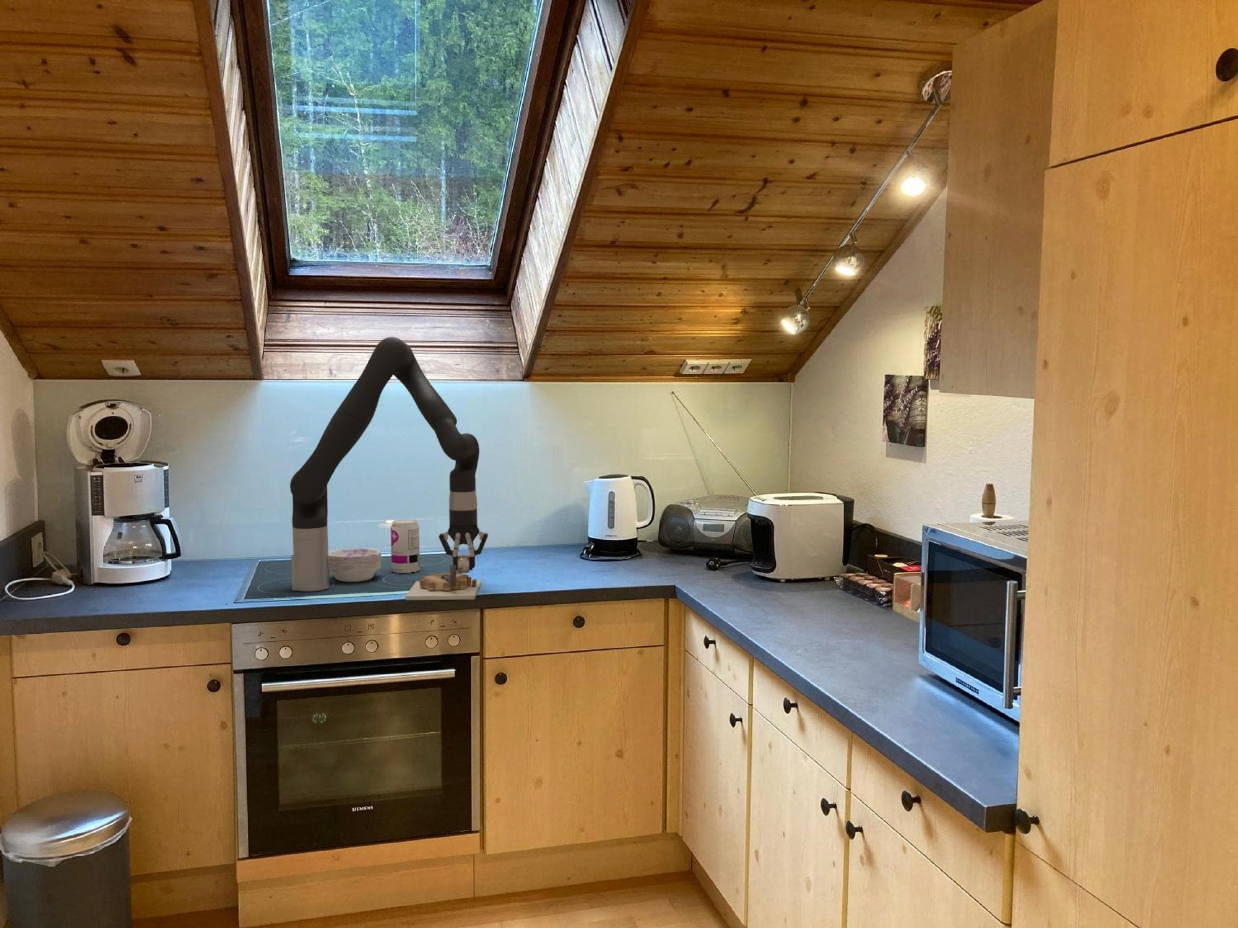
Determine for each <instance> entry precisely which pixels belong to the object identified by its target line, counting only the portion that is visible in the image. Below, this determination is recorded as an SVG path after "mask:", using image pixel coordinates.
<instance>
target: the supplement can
mask: <svg viewBox="0 0 1238 928" xmlns="http://www.w3.org/2000/svg"><path fill="white" fill-rule="evenodd" d="M420 548H421V547H420V525H419V523H418V521H417V520H415V519H397V520H393V521H392V523H391V525H390V554H391V556H390V557H391V558H390V559H391V571H392V572H393V573H394V572H398V573H397V574H399V573H409V574H411V573H410V572H415V573H417V572H419V570H420V569H421V558H420V557H421V556H420V555H421V554H420V553H421V552H420V551H421V550H420ZM416 571H417V572H416Z"/></svg>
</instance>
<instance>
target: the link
mask: <svg viewBox="0 0 1238 928" xmlns="http://www.w3.org/2000/svg"><path fill="white" fill-rule="evenodd" d="M469 557H470V554H466V553H465V554H458V558H457V560H458V570H457V574H469V573H470V572H471V570H470V558H469Z"/></svg>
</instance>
